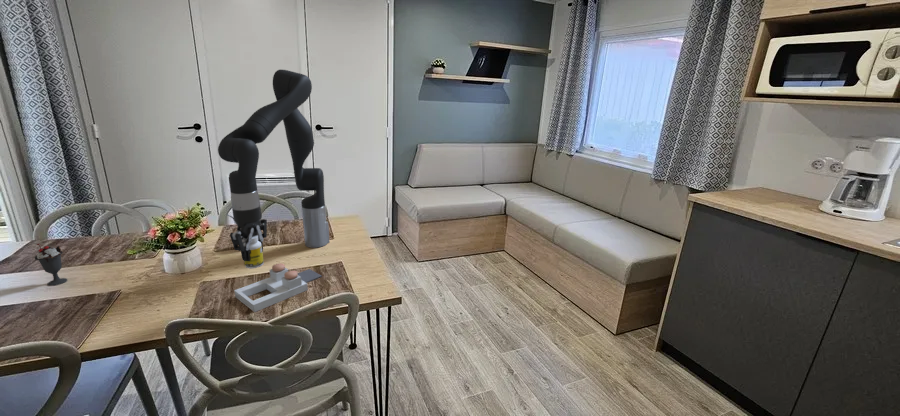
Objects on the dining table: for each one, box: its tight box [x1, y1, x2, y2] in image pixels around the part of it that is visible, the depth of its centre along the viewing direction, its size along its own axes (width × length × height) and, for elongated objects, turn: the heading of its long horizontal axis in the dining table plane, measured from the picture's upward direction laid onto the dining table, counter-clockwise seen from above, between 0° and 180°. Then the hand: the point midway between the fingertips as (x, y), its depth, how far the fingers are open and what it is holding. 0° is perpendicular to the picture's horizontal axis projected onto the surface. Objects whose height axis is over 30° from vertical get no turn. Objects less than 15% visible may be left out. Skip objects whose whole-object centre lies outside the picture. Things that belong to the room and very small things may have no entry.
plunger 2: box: [284, 270, 299, 280], centre depth 129 cm, size 4×4×4 cm
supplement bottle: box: [243, 235, 265, 270], centre depth 121 cm, size 5×5×10 cm
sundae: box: [34, 243, 68, 287], centre depth 129 cm, size 7×7×15 cm
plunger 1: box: [271, 262, 286, 272], centre depth 134 cm, size 4×4×4 cm
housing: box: [233, 267, 309, 313], centre depth 128 cm, size 18×13×6 cm
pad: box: [297, 268, 323, 284], centre depth 140 cm, size 8×8×1 cm
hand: (253, 256), depth 122 cm, fingers closed on supplement bottle, 5 cm apart
